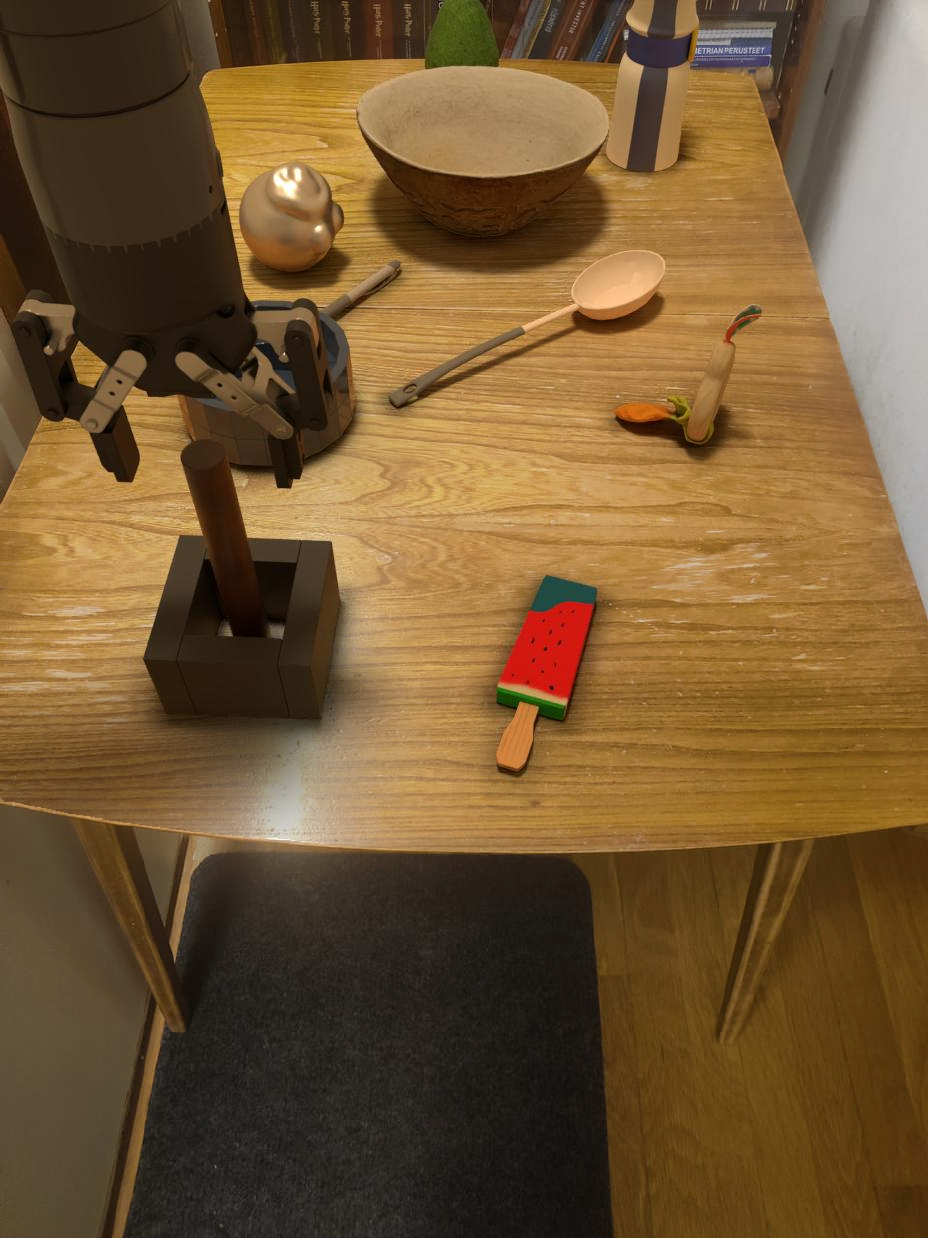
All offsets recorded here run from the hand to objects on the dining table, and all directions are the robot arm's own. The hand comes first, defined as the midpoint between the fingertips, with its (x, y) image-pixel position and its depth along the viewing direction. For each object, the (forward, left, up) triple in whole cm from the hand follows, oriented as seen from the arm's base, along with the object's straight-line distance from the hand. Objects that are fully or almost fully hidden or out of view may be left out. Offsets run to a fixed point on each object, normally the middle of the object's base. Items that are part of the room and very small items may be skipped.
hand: (209, 474), depth 54 cm
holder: (0, 0, -17) cm, 17 cm away
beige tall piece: (+30, +25, -17) cm, 42 cm away
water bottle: (+30, +68, -17) cm, 76 cm away
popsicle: (+19, -1, -17) cm, 25 cm away
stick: (0, 0, -17) cm, 17 cm away
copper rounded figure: (-4, +45, -17) cm, 48 cm away
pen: (+2, +39, -17) cm, 43 cm away
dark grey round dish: (-3, +24, -17) cm, 29 cm away
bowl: (+13, +56, -17) cm, 60 cm away
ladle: (+18, +34, -17) cm, 42 cm away
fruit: (+10, +77, -17) cm, 79 cm away
